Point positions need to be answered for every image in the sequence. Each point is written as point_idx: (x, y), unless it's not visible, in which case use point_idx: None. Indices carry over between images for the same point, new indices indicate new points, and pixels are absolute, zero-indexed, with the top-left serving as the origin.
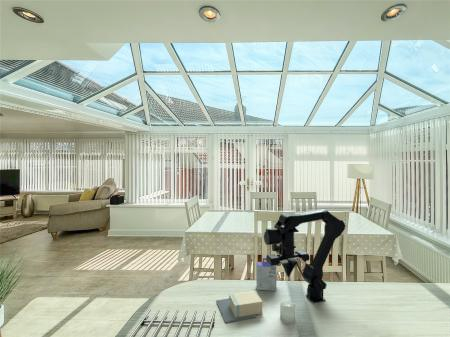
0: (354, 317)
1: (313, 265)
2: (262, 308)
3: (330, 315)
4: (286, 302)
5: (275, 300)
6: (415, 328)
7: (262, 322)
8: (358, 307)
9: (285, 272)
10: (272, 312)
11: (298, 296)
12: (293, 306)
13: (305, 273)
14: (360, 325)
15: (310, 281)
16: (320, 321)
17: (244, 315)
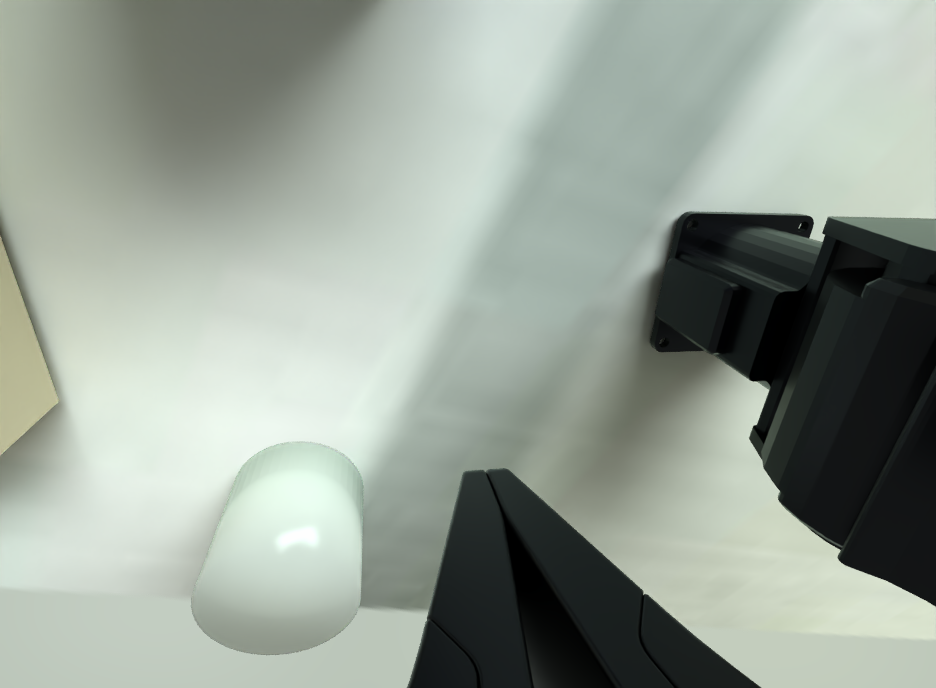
0: (746, 531)
1: None
2: (27, 430)
3: (636, 497)
4: (286, 566)
5: (303, 196)
6: (891, 618)
7: (45, 496)
8: None
9: (448, 532)
10: (189, 390)
11: (602, 200)
12: (330, 623)
13: (903, 392)
14: (707, 585)
15: (779, 486)
16: None
17: None
